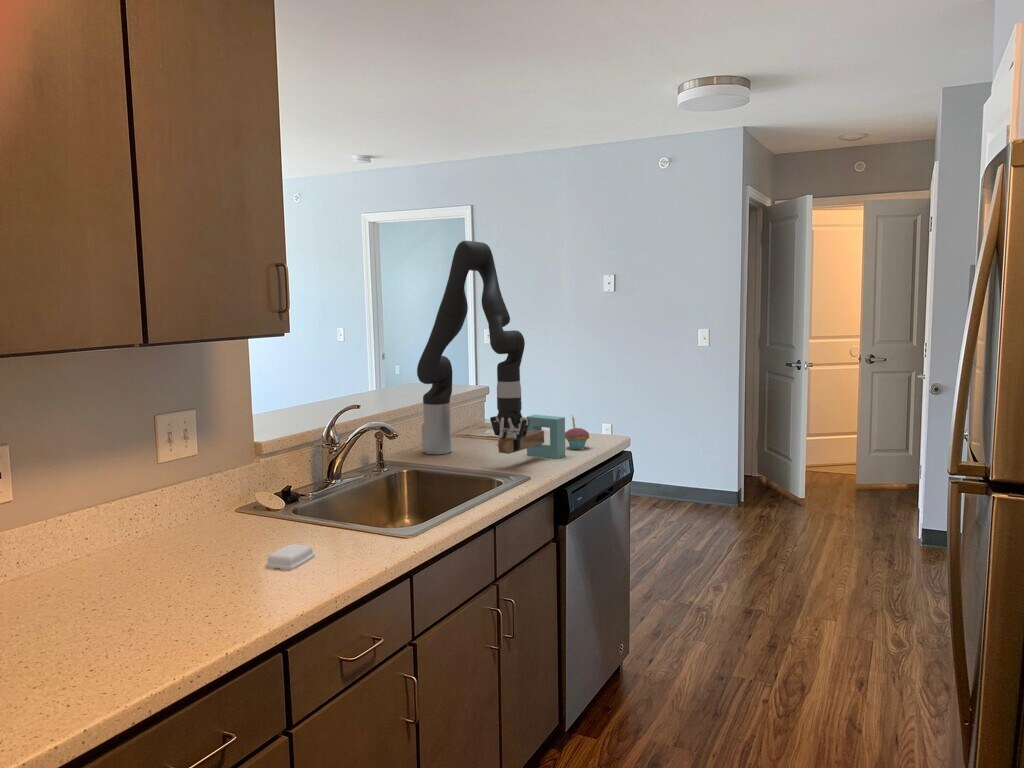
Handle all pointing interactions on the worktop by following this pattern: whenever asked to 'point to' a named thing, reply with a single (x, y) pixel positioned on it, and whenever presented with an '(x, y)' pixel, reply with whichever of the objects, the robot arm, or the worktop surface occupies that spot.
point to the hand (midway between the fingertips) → (510, 449)
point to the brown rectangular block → (521, 441)
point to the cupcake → (576, 437)
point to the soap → (290, 557)
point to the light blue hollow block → (556, 436)
